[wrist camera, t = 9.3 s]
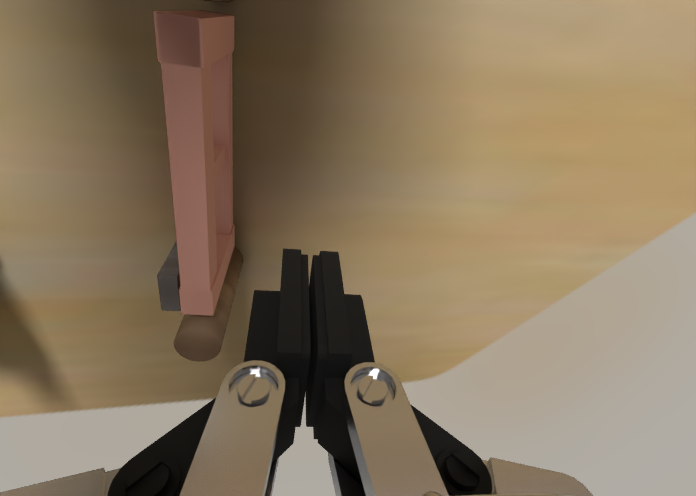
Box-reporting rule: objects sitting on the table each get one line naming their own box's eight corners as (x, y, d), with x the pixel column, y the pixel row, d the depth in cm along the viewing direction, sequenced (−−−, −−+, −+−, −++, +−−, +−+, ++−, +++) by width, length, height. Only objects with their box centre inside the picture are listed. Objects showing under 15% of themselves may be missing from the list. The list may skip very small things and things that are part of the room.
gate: (201, 10, 20) (153, 10, 13) (234, 15, 20) (201, 18, 14) (210, 243, 26) (181, 314, 20) (234, 245, 27) (213, 315, 21)
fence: (149, -301, 15) (3, -590, 8) (246, -274, 15) (193, -523, 8) (191, 270, 28) (152, 360, 21) (242, 273, 29) (221, 362, 22)
